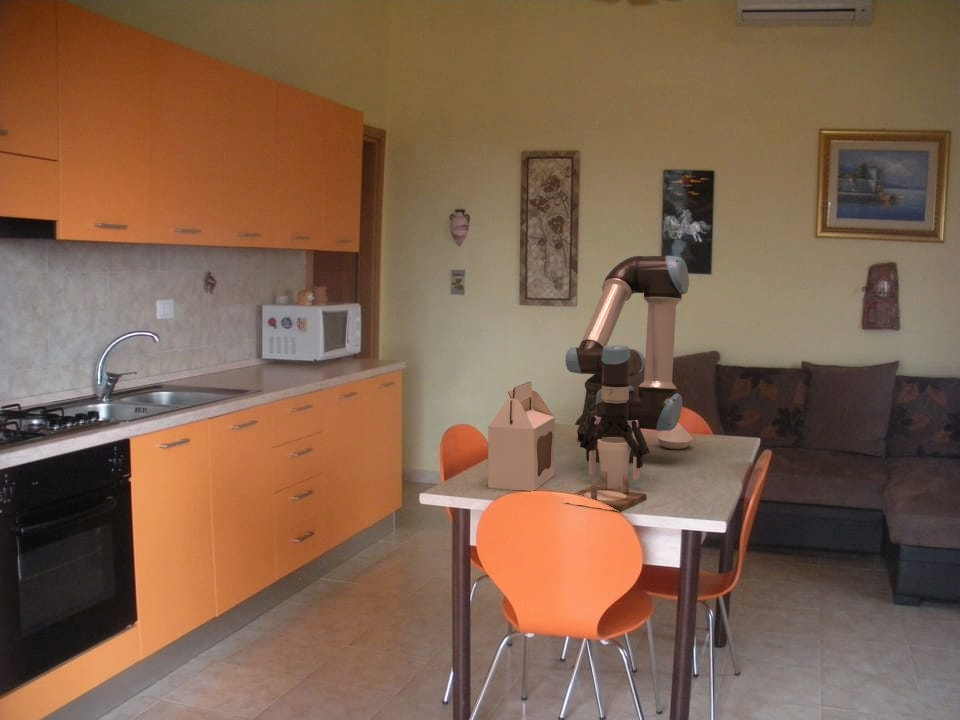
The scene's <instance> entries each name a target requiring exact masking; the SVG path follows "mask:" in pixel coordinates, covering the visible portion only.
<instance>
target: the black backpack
mask: <svg viewBox="0 0 960 720" xmlns="http://www.w3.org/2000/svg"><path fill="white" fill-rule="evenodd" d="M584 388H585V397H584V403H583V411H582V415H581V419H580V423H579V426H578V428H577V431H576V433H577V441H578V442H580V443H581V442H582V440H583V438H584V436H585V434H586V432H587V430H588V428H589V426H590V422H591V417H593V416H596V404H595V403H596V397H597V392H598V391H599V390H600V389H602V375H601V374H592V376H590V377H589V378H588V379H587V380H585V382H584ZM595 435H596V430H595V432H594V434H593V436H592V438H591V440H590V442H591V441H592V440H593V439H594V437H595ZM590 442H589V443H590Z"/></svg>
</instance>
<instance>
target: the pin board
mask: <svg viewBox="0 0 960 720" xmlns="http://www.w3.org/2000/svg"><path fill="white" fill-rule="evenodd" d="M600 475H601V476H600V477H601V479H600V486H598V480H591V481H590V486H589V487H586V488H584V489H580V490H578V491H576V492H574V493H572V494H578V495H582V496H586V497H590V498H592V499H595V500H598V501H601V502H603V503H605V504H607V505H609V506H611V507H613V508H614V509H616V510H618V511H619V512H618V513H621V512H624V511H626V510H627V509H629V508H631V507H634V506H636V505H638V504H640V503H642V502H644V501H647V493H642V492H636V491H630V490H629V487H630V486H629V485H630V484H629V483H630V482H629V481H630V474H629V473H627V474H623V488H621V489H611V488H607V471H601V470H600Z"/></svg>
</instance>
